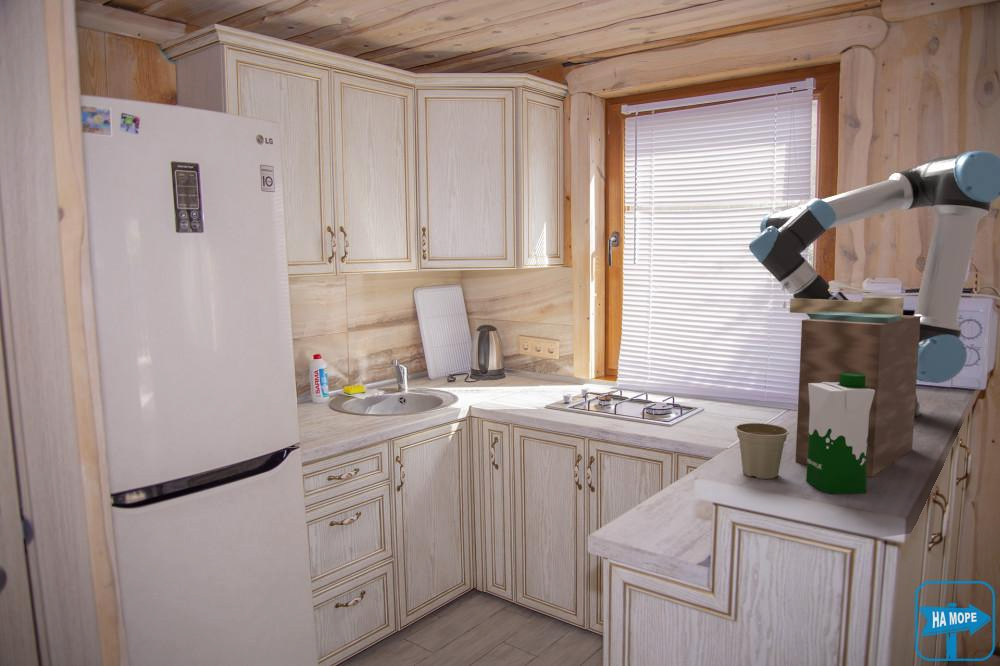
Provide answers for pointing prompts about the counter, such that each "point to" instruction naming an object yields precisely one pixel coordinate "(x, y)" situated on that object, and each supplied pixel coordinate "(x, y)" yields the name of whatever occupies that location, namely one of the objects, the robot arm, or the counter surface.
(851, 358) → the walnut shelf
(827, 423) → the milk carton
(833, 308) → the oak bar
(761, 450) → the flower pot
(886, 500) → the counter surface
